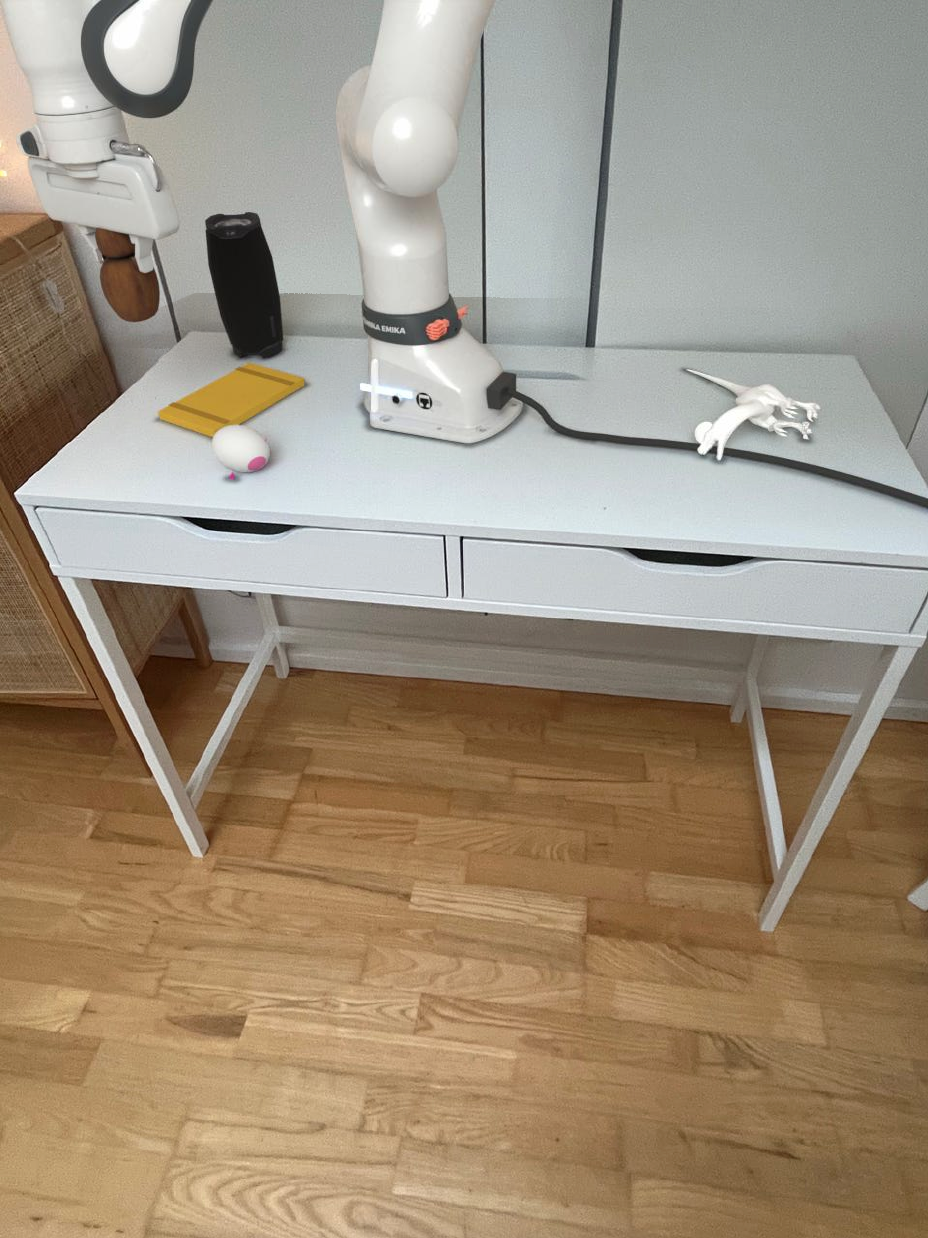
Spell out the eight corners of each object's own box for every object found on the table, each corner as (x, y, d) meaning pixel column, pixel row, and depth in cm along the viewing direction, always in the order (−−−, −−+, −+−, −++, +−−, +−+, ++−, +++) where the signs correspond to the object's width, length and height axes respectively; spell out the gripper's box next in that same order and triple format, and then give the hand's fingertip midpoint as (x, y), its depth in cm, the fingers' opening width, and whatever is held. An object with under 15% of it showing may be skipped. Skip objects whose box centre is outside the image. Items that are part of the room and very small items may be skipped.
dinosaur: (781, 435, 122) (673, 411, 123) (802, 376, 118) (691, 352, 119) (815, 484, 100) (683, 454, 101) (843, 413, 96) (705, 383, 97)
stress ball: (282, 489, 107) (293, 438, 105) (243, 484, 99) (255, 429, 98) (235, 474, 109) (246, 424, 108) (194, 469, 102) (205, 415, 101)
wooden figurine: (149, 328, 102) (109, 195, 92) (106, 326, 103) (62, 195, 93) (173, 307, 107) (138, 178, 97) (132, 305, 108) (93, 178, 98)
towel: (305, 385, 122) (303, 376, 121) (215, 438, 111) (213, 429, 110) (250, 369, 126) (248, 361, 126) (159, 419, 115) (157, 410, 114)
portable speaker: (221, 348, 133) (190, 217, 120) (275, 333, 136) (251, 205, 123) (241, 366, 127) (211, 231, 114) (297, 351, 131) (274, 218, 118)
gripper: (173, 138, 89) (205, 271, 98) (52, 124, 98) (92, 247, 107) (127, 152, 85) (165, 288, 94) (5, 136, 94) (51, 262, 103)
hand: (125, 266), depth 101 cm, fingers closed on wooden figurine, 5 cm apart
